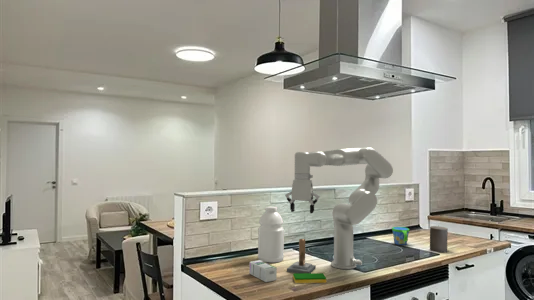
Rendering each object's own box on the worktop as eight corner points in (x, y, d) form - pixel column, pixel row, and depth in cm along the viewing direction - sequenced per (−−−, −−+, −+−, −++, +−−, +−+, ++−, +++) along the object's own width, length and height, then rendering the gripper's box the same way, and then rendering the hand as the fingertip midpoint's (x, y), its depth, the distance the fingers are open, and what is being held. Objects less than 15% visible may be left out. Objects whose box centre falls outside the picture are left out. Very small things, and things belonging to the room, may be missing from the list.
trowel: (312, 266, 177) (312, 239, 177) (307, 269, 172) (307, 241, 172) (297, 263, 181) (297, 237, 181) (291, 266, 176) (292, 239, 176)
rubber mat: (315, 268, 178) (315, 265, 178) (308, 274, 168) (308, 271, 168) (294, 265, 183) (294, 262, 183) (286, 271, 173) (286, 268, 173)
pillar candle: (426, 250, 218) (427, 225, 218) (434, 247, 224) (434, 223, 224) (443, 253, 210) (443, 227, 210) (450, 250, 217) (450, 225, 217)
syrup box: (266, 269, 157) (249, 260, 169) (266, 283, 157) (248, 273, 169) (277, 267, 161) (259, 259, 173) (276, 280, 161) (259, 271, 173)
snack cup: (413, 247, 224) (413, 230, 225) (396, 246, 225) (396, 230, 225) (404, 241, 240) (404, 226, 240) (388, 241, 240) (388, 225, 241)
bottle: (288, 258, 196) (289, 206, 197) (274, 264, 185) (275, 209, 185) (267, 254, 204) (267, 204, 205) (252, 260, 193) (253, 207, 193)
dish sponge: (292, 278, 164) (292, 273, 164) (323, 278, 165) (323, 272, 165) (295, 284, 157) (295, 278, 157) (326, 283, 158) (326, 277, 158)
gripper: (321, 177, 177) (321, 212, 176) (288, 176, 184) (288, 210, 183) (317, 178, 170) (317, 214, 170) (282, 177, 177) (282, 212, 177)
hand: (302, 212), depth 176 cm, fingers open, 9 cm apart
